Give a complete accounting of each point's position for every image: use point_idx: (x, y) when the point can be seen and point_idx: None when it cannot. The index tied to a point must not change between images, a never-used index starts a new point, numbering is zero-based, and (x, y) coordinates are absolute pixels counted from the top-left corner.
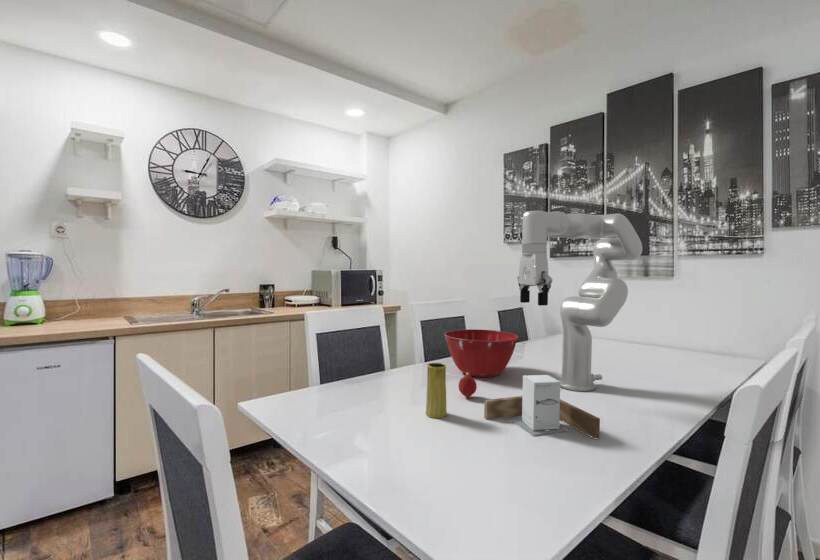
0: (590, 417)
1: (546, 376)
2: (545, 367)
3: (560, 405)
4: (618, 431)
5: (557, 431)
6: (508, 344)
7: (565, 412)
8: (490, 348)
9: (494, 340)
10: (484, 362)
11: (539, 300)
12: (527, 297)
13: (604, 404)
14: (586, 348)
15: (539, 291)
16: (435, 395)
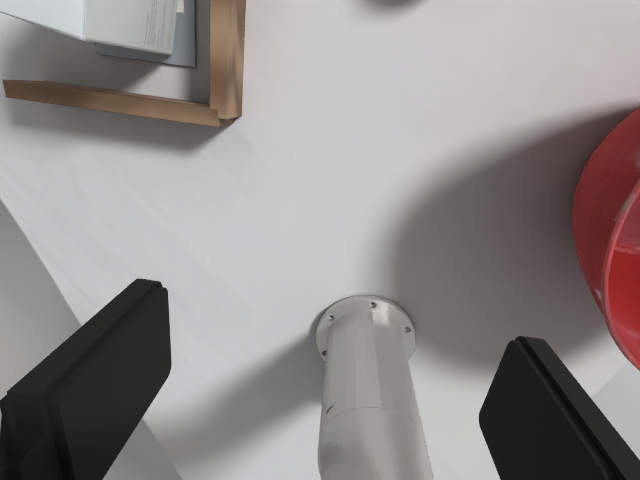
0: (20, 82)
1: (52, 6)
2: None
3: (147, 98)
4: (78, 173)
5: None
6: (597, 265)
7: (132, 95)
8: (632, 159)
9: None
10: (615, 136)
11: (104, 313)
12: (508, 450)
13: (228, 285)
14: (320, 425)
15: (2, 423)
16: None
